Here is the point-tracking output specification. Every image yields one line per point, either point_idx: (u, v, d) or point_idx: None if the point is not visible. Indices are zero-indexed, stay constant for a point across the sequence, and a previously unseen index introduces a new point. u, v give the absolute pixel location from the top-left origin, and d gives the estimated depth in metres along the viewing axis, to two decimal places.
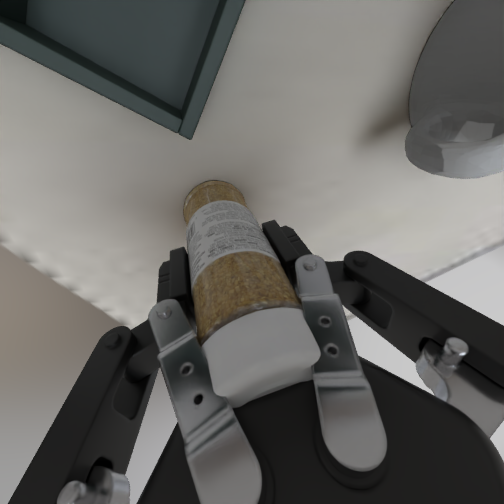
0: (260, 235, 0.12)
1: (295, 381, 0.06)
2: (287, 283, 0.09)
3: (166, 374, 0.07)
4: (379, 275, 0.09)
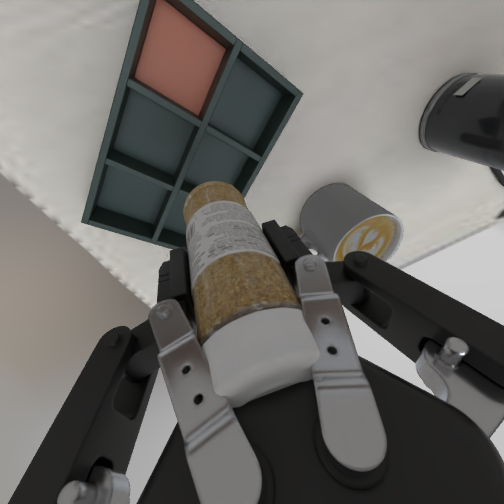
0: (260, 235, 0.12)
1: (295, 381, 0.06)
2: (287, 283, 0.09)
3: (166, 374, 0.07)
4: (379, 275, 0.09)
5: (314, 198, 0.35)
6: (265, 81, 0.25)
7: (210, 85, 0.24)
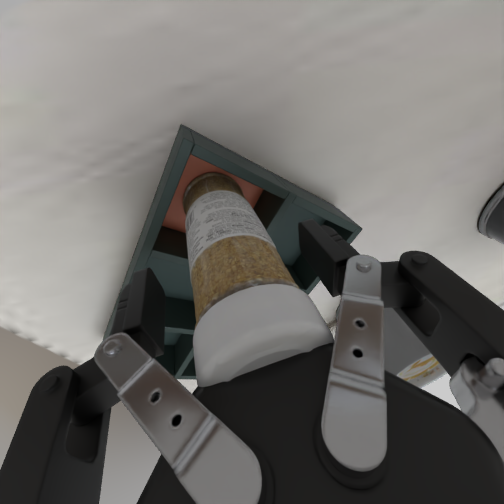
0: (257, 222, 0.12)
1: (287, 349, 0.07)
2: (282, 265, 0.10)
3: (133, 409, 0.06)
4: (435, 279, 0.08)
5: None
6: None
7: None
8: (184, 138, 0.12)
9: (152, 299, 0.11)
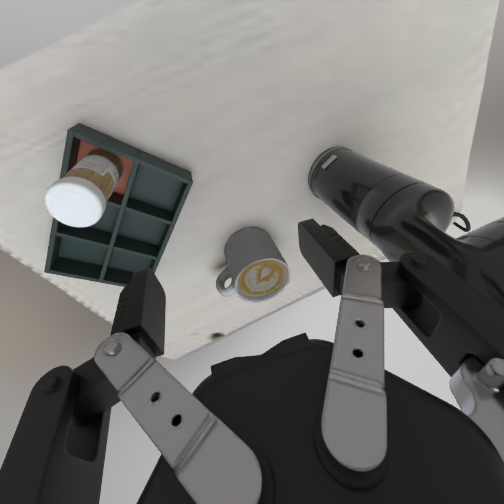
0: (100, 166, 0.27)
1: (70, 192, 0.21)
2: (94, 178, 0.24)
3: (133, 409, 0.06)
4: (435, 279, 0.08)
5: (230, 240, 0.45)
6: None
7: (129, 176, 0.34)
8: (68, 129, 0.27)
9: (152, 299, 0.11)
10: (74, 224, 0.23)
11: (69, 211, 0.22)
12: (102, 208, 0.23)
